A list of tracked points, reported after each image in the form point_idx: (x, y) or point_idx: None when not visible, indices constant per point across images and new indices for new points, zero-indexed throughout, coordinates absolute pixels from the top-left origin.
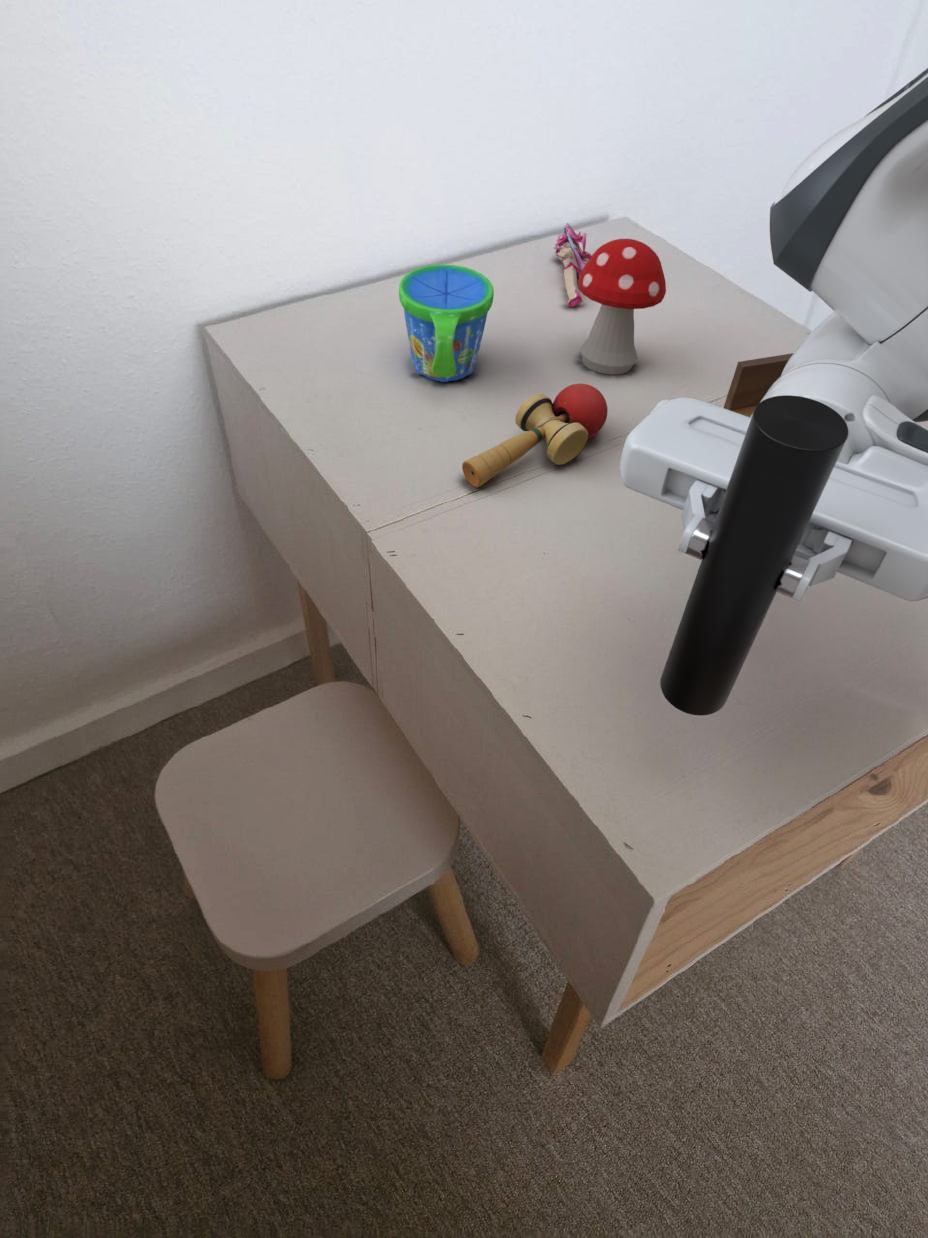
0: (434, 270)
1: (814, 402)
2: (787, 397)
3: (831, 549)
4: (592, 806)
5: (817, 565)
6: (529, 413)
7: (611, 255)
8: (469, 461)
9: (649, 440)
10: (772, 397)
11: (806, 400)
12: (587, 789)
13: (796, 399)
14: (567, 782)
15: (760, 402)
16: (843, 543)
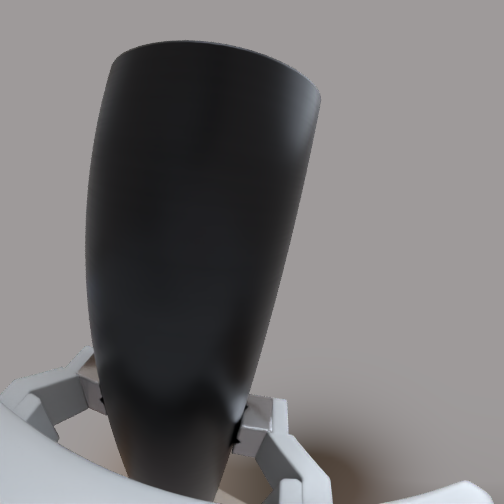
0: None
1: (183, 45)
2: (268, 61)
3: (35, 386)
4: (217, 491)
5: (67, 365)
6: None
7: None
8: None
9: (465, 499)
10: (305, 77)
11: (210, 47)
12: (224, 500)
13: (240, 55)
14: (239, 500)
15: (319, 94)
16: (10, 397)
